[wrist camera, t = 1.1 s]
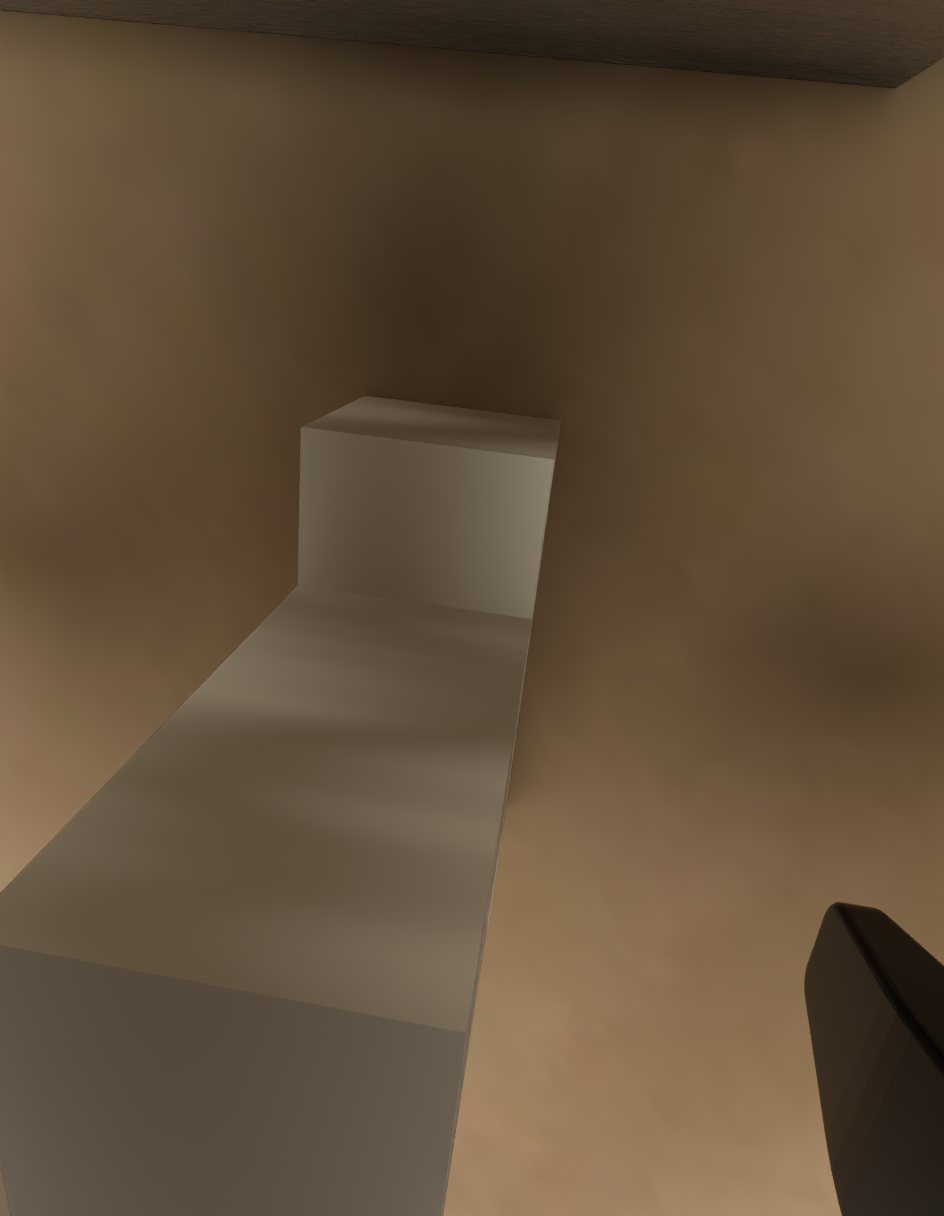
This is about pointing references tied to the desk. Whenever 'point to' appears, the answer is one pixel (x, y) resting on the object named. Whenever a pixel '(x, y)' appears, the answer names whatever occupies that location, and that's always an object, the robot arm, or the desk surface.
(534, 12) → the slot rail
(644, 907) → the desk surface
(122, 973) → the pale step bench
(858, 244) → the desk surface
